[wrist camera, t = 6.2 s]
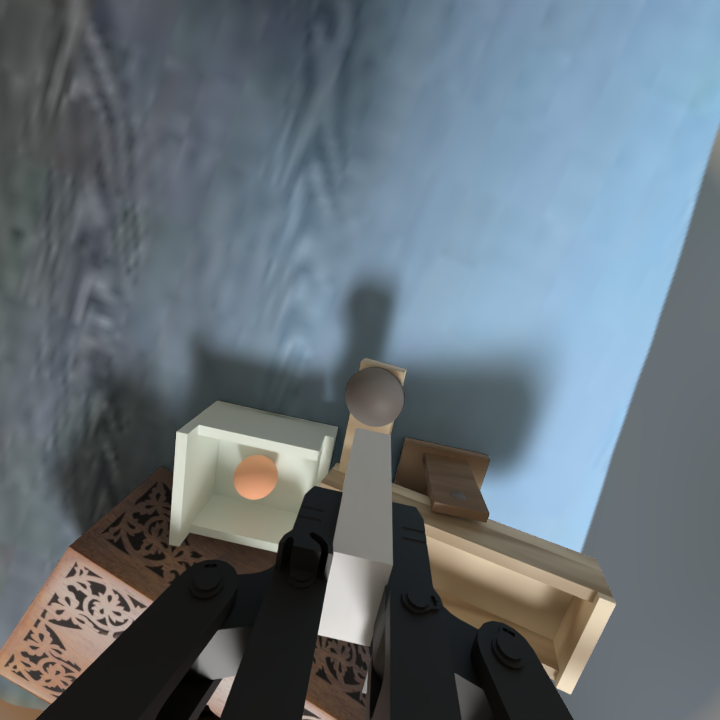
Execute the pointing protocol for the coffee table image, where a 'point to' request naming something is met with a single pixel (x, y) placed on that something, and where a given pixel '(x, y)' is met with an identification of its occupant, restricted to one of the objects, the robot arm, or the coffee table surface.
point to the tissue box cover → (137, 592)
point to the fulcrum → (445, 477)
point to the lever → (490, 554)
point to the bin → (219, 461)
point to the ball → (255, 477)
